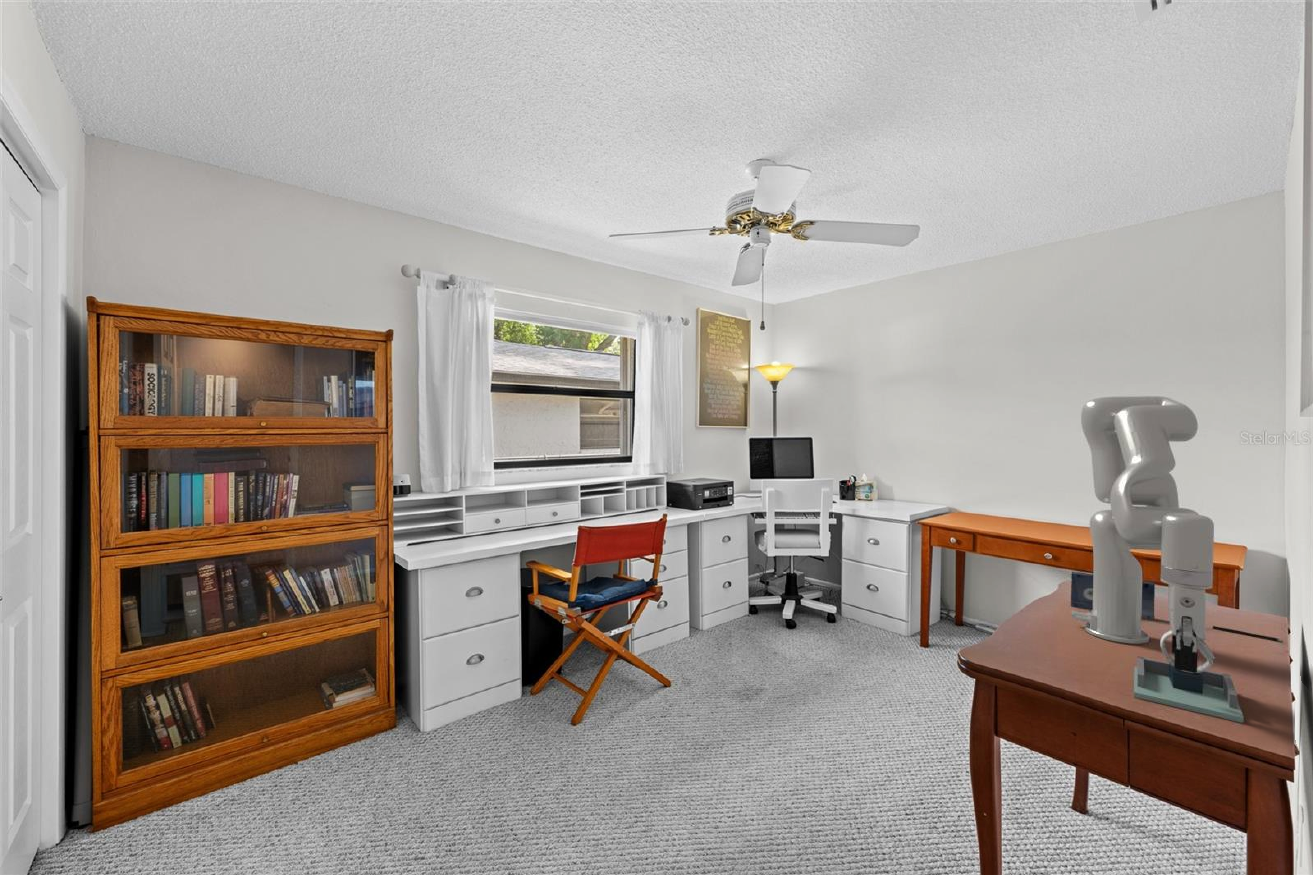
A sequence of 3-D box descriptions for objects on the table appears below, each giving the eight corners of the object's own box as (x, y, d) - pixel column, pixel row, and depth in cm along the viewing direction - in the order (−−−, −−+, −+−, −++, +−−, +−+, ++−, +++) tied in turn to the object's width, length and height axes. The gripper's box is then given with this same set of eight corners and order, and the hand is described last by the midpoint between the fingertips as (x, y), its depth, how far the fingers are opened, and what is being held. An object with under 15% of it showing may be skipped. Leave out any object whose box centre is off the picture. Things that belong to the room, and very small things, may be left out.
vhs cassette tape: (1154, 618, 154) (1155, 582, 154) (1154, 621, 152) (1155, 584, 152) (1071, 604, 166) (1071, 570, 166) (1070, 606, 164) (1070, 572, 164)
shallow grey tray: (1134, 697, 111) (1134, 679, 111) (1134, 670, 122) (1134, 654, 122) (1243, 723, 101) (1244, 704, 101) (1232, 692, 113) (1233, 674, 113)
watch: (1216, 696, 109) (1218, 640, 109) (1161, 685, 114) (1162, 631, 113) (1210, 685, 113) (1212, 631, 113) (1157, 675, 118) (1158, 623, 118)
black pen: (1282, 642, 138) (1283, 638, 138) (1282, 644, 137) (1282, 640, 137) (1213, 629, 147) (1213, 625, 147) (1212, 630, 146) (1212, 626, 146)
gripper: (1217, 590, 103) (1215, 683, 103) (1208, 570, 116) (1205, 653, 117) (1162, 583, 108) (1160, 672, 108) (1159, 564, 121) (1157, 644, 122)
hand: (1183, 662), depth 113 cm, fingers open, 9 cm apart
